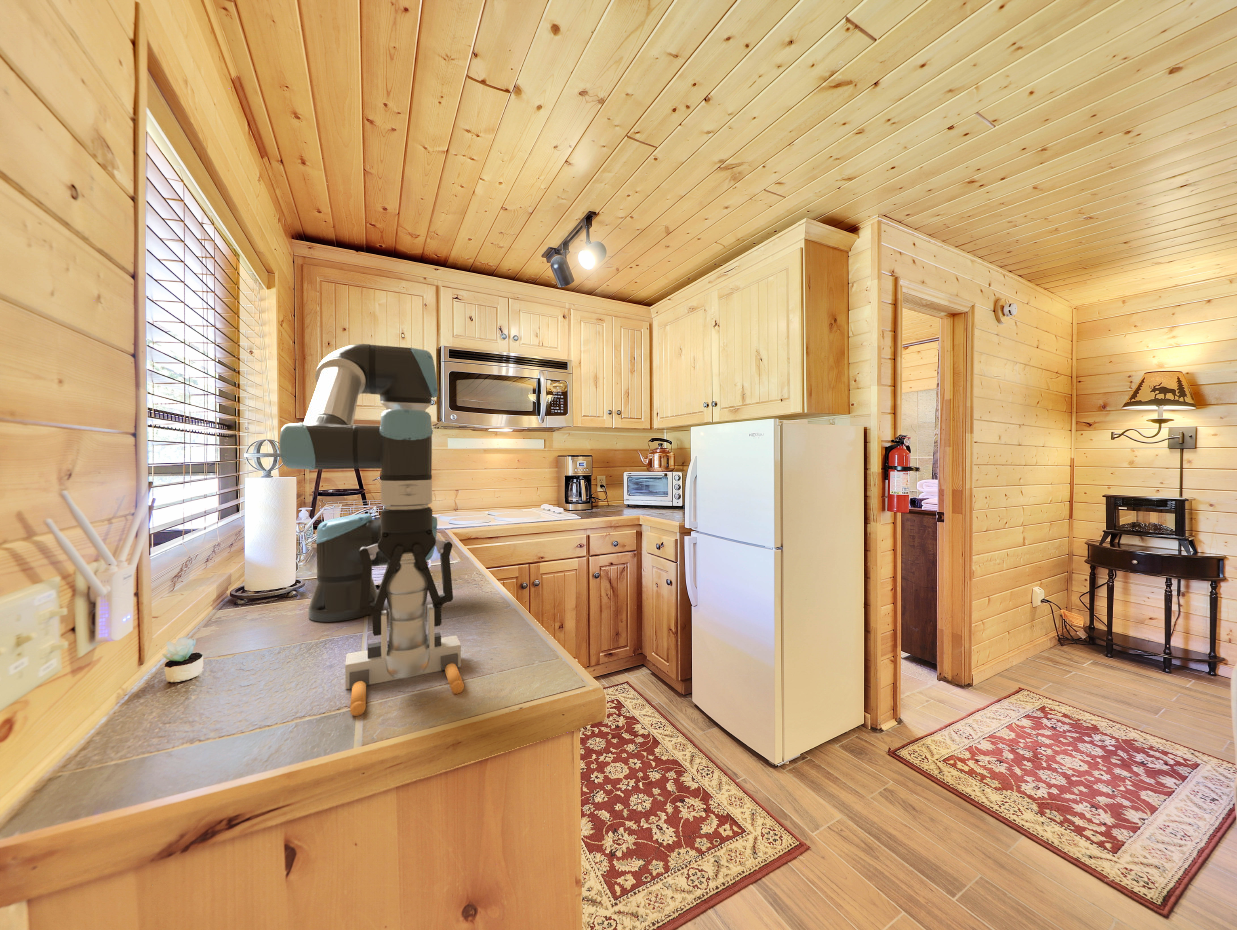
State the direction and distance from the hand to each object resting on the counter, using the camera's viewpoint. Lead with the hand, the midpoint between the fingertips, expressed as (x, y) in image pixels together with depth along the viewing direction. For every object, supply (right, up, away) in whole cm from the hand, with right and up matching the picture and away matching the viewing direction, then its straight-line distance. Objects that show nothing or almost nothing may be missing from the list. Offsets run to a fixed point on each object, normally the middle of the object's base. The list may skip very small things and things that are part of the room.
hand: (408, 650), depth 76 cm
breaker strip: (-4, -7, +7) cm, 11 cm away
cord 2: (+6, -7, +3) cm, 10 cm away
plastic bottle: (0, -4, 0) cm, 4 cm away
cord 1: (-6, -7, -3) cm, 10 cm away
